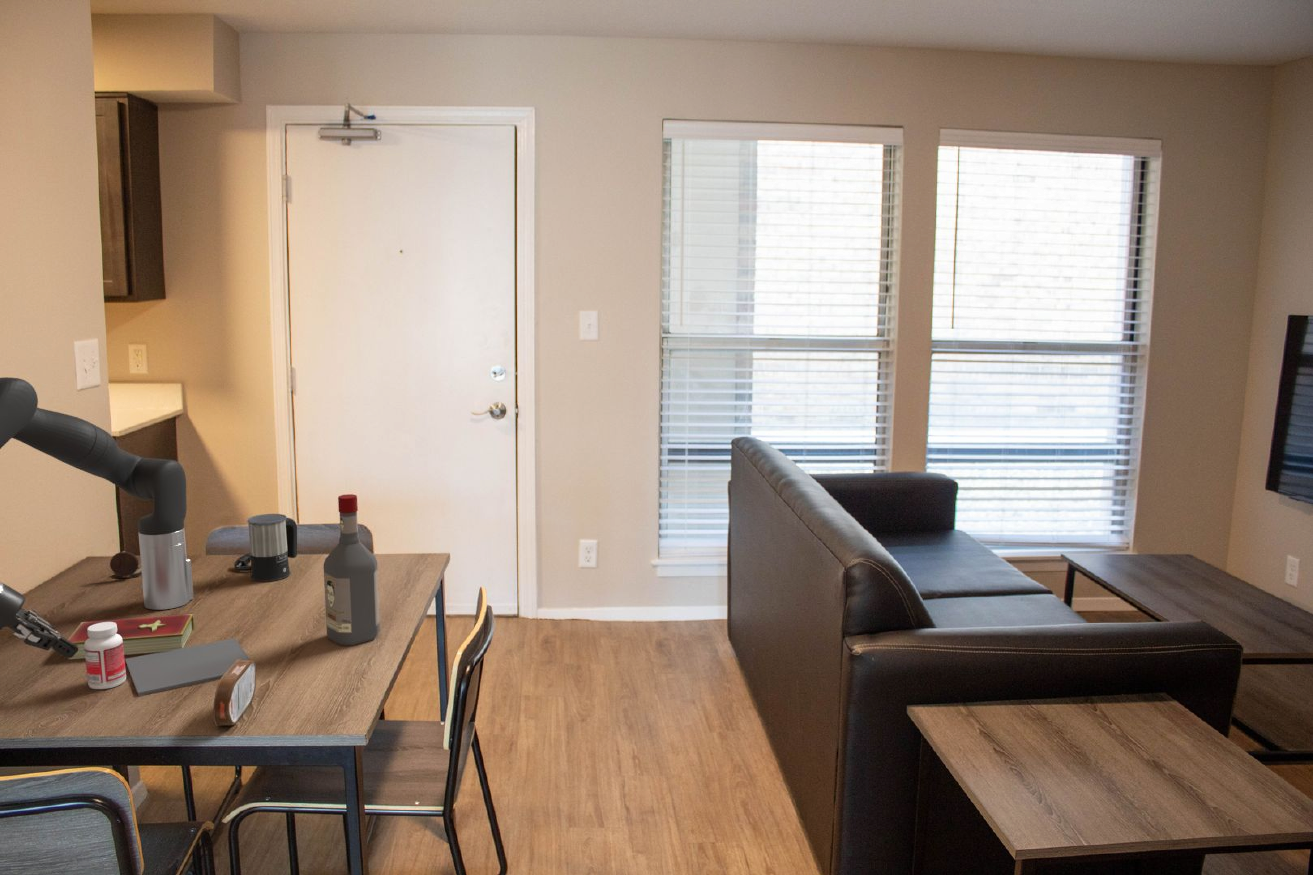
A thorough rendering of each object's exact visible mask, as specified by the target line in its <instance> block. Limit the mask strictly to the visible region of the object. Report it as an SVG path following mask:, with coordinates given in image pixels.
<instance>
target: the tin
mask: <svg viewBox="0 0 1313 875" xmlns="http://www.w3.org/2000/svg"><path fill="white" fill-rule="evenodd" d="M256 672H257V664H256V662H255V661H254V660H252V659H250V660H241V659H238V660H236V661H235V663H234V664H233V665H232V666H231V667H230V668H229V670H228V671H227V672H226V673H225V674H224V675H223V676H222V678H221V679H219V682H218V683H217V686H216V689H215V690H216V691H215V693H214V698H213V720H214V724H215V726H219V727H220V726H234V725H236V724H237V723H238V721H239V720H240V719H241V717H242V716H243V715H244V714H245V712H246V711H247V709H248V708H249V706H250V705H251V704H252V702H253V699H254V696H255V692H256V688H257V683H256V675H257V673H256Z"/></svg>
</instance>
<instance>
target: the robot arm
mask: <svg viewBox="0 0 1313 875" xmlns="http://www.w3.org/2000/svg"><path fill="white" fill-rule="evenodd" d="M38 405H39V399H38V393H37V391H36V390H35V388H34V386H33V385H32V384H31V383H30V382H29V381H26V380H25V379H22V378H18V377H0V450H1V449H2V448H3V447H4V446H5V445H6V444H7V443H9V441H10V440H11V439H14V440H16V441H18V442H21V443H23V444H25V445H27V446H28V447H31V448H33V449H34V450H37V451H39V452H41V453H43V454H45V455H47V456H50V457H52V458H54V459H56V460H58V461H59V462H62V463H65V464H67V465H68V466H71V467H73V468H76V469H77V470H79V471H83V472H84V473H87V474H89V475H92V476H95V477H98V478H101V479H103V480H106V481H108V482H110V483H111V484H114V486H117V487H118V488H120V489H121V490H123V491H124V492H126V493H127V494H129V495H131V496H133V497H135V498H137V499H140V500H148V501H153V509H152V513H149V514H146V515H144V516H142V517H140V518H139V519H138V521H137V532H138V544H139V554H140V568H141V570H142V575H141V579H142V580H141V581H142V594H143V605H144V608H146V609H149V610H157V611H158V610H161V611H162V610H170V609H174V608H179V607H182V606H184V605H187V604H188V603H189V602H190V601H192V600H194V587H193V586H194V585H193V575H192V571H193V570H192V560H191V558H188V557H187V546H186V544H187V543H186V534H185V519H186V516H187V509H188V507H187V506H188V505H187V477H186V473H185V470H184V467H183V466H182V464H181V463H180V462H178V461H177V460H174V459H167V458H152V457H151V458H150V457H144V456H139V455H136V454H133V453H131V452H128V451H126V450H124V449H122V448H120V447H119V445H118V443H117V441H116V439H115V438H114V437H113V435H111V433H109V432H108V431H106V430H105V429H103V428H101V427H100V426H97V424H96V425H95V424H93V423H92V422H90V421H88V420H85V419H83V418H79V417H78V416H74V415H70V414H66V413H64V412H63V413H62V412H59V411H53V410H50V409H45V408H41V407H38ZM25 601H26V596H25V595H24V594H22V593H20V592H19V591H17V590H15V589H14V588H12V587H11V586H9V585H7V584H5V583H4V582H2V581H0V631H2V630H3V628H9V629H10V630H12V632H11V633H12V634H13V636H16V638H17V637H18V638H19V639H23V643H24V644H25V645H29V646H31V647H36V648H39V649H40V650H45V651H49V650H51V649H53V651H56V652H58V653H59V654H61V655H63V656H65V657H66V658H72V657H73V656H74V655H75V654H76V652H77V651H78V646H77V645H76V644H74V643H72V642H71V641H69V640H67V639H68V638H66V637H64V636H62V635H61V633H60V632H59V631H57V630H58V629H57V628H56V627H55V626H54V625H52V624H51V623H50V622H48V621H47V620H46V619H45V618H43V617H42V616H41V615H40V614H39V613H37V611H35V610H34V609H28V610H25V609H24V608H22V607H23V606H24V604H25Z"/></svg>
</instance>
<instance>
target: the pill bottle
mask: <svg viewBox="0 0 1313 875" xmlns="http://www.w3.org/2000/svg"><path fill="white" fill-rule="evenodd" d="M87 630H88V637H90V638H89V639H87V640H86V642H85V644H84V650H85V658H84V659H85V669H86V676H87V677H86V678H87V684H88V687H89V688H90V689H92V690H107V689H112V688H115V687H116V688H117V687H118V686H119V685H120V686H121V685H122V684H123V683H124V682H126V680H127V679H126V678H127V672H126V662H125V659H126V658H125V655H124V649H123V640H122V637H121V636H120V635H118V634H116V632H117V624H116V623H114V622H102V623H97V624H94V625H91V626H89V627H88V629H87Z"/></svg>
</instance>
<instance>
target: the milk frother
mask: <svg viewBox="0 0 1313 875" xmlns="http://www.w3.org/2000/svg"><path fill="white" fill-rule="evenodd" d="M246 522H247V524H248V539H249V551H250V552H248V553H245V554H243V555H242V556H240V557H238V558H237V559H236V560H235V562H234V563H233V564H234V565H233V566H234V568H235V569H236V570H237V571H240V572H250V571H251V572H250V579H251V580H252V581H256V582H263V583H264V582H274V581H280V580H282V579H286V578H288V577H289V576H290V575H291V571H290V566H289V564H290V563H289V559H295V558H297V556H298V525H297V522H296V521H295V520H294V519H293V518H291V517H287V515H286V514H281V513H264V514H258V515H257V514H256V515H254V516H250V517H249V518H247V519H246ZM249 564H250V565H249ZM248 565H249V566H248Z"/></svg>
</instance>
